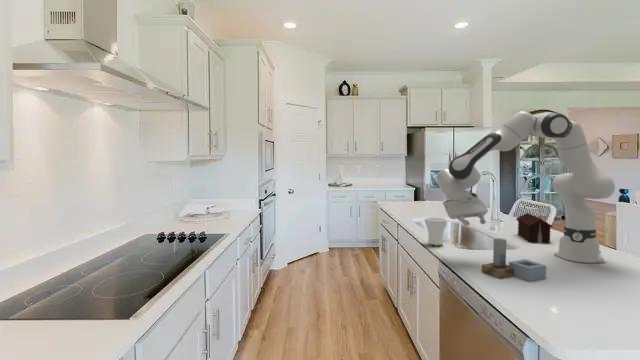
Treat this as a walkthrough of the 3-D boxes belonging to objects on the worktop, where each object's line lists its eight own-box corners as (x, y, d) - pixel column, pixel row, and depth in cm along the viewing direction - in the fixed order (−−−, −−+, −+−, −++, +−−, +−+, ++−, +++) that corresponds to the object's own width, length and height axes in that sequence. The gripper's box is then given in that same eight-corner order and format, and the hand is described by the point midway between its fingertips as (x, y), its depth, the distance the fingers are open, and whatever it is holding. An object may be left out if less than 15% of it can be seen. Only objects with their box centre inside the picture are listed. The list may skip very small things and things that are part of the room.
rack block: (508, 274, 142) (509, 262, 142) (524, 271, 146) (524, 259, 146) (529, 281, 134) (530, 268, 134) (545, 278, 138) (546, 265, 137)
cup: (420, 243, 193) (420, 217, 192) (437, 241, 197) (437, 216, 196) (433, 248, 182) (433, 221, 181) (451, 246, 186) (451, 219, 185)
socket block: (481, 271, 146) (481, 264, 146) (497, 268, 149) (497, 261, 149) (500, 278, 137) (500, 271, 137) (517, 275, 141) (517, 268, 141)
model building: (551, 244, 191) (553, 216, 190) (528, 243, 193) (529, 215, 192) (537, 235, 211) (538, 210, 210) (515, 234, 213) (516, 209, 212)
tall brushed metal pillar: (492, 273, 144) (493, 238, 143) (498, 271, 145) (499, 238, 145) (499, 275, 141) (500, 240, 140) (505, 274, 143) (506, 239, 142)
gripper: (444, 195, 156) (461, 221, 147) (479, 193, 164) (497, 218, 155) (437, 204, 160) (453, 230, 152) (471, 202, 168) (488, 226, 160)
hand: (475, 224), depth 153 cm, fingers open, 8 cm apart
